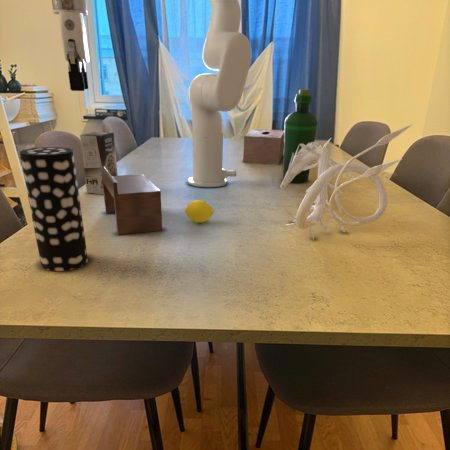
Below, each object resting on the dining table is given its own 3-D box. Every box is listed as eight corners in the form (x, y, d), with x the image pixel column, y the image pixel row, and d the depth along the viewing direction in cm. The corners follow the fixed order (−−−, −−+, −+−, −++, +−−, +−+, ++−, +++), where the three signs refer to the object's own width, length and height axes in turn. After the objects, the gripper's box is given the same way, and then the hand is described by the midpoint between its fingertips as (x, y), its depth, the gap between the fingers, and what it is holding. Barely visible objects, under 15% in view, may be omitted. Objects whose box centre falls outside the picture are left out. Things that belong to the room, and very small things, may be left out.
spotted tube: (48, 254, 84) (28, 146, 75) (91, 253, 85) (77, 147, 76) (35, 271, 77) (12, 155, 68) (83, 270, 78) (66, 155, 68)
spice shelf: (144, 209, 113) (141, 164, 108) (162, 230, 98) (160, 179, 93) (105, 212, 110) (100, 166, 104) (118, 235, 95) (113, 182, 90)
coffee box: (106, 194, 125) (100, 135, 117) (86, 193, 126) (78, 134, 118) (119, 187, 133) (114, 131, 125) (100, 186, 134) (94, 130, 126)
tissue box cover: (251, 152, 198) (253, 128, 193) (283, 153, 195) (285, 130, 191) (243, 162, 175) (244, 136, 171) (278, 164, 173) (280, 137, 168)
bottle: (313, 179, 150) (323, 89, 137) (308, 185, 141) (319, 90, 128) (283, 176, 153) (290, 88, 140) (276, 182, 144) (283, 89, 131)
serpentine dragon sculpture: (412, 272, 77) (463, 117, 70) (299, 251, 75) (340, 88, 67) (334, 233, 120) (361, 134, 112) (261, 219, 117) (283, 117, 110)
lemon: (184, 225, 102) (183, 202, 99) (186, 218, 107) (185, 196, 104) (213, 226, 102) (213, 203, 99) (214, 219, 107) (214, 197, 104)
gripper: (83, 2, 92) (92, 91, 100) (90, 11, 107) (98, 88, 115) (45, 0, 90) (58, 91, 99) (58, 10, 105) (68, 88, 114)
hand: (80, 89), depth 107 cm, fingers open, 9 cm apart
